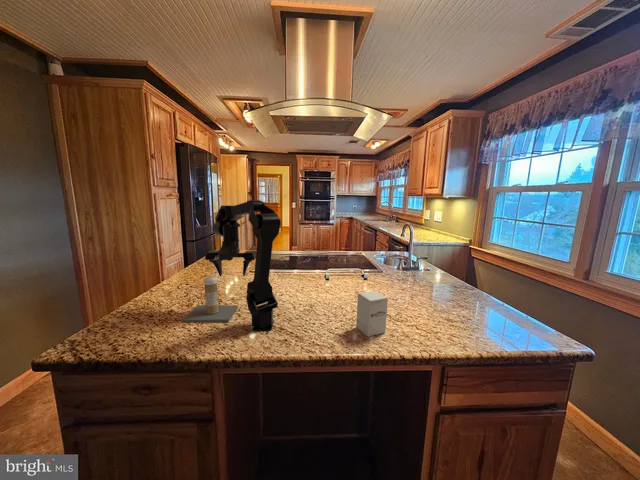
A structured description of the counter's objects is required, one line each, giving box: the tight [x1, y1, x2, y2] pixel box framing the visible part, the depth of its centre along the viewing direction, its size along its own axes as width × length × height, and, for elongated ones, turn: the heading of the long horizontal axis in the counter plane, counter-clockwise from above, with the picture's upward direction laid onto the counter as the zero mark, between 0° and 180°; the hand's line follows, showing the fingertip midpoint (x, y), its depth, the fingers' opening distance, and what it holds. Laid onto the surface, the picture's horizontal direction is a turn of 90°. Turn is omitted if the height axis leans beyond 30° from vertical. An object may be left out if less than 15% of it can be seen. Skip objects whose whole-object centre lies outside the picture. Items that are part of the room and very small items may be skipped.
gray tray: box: [182, 304, 239, 323], centre depth 94 cm, size 16×12×1 cm
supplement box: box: [355, 290, 389, 338], centre depth 84 cm, size 7×7×13 cm
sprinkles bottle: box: [203, 276, 219, 314], centre depth 93 cm, size 5×5×13 cm
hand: (232, 276), depth 99 cm, fingers open, 9 cm apart
